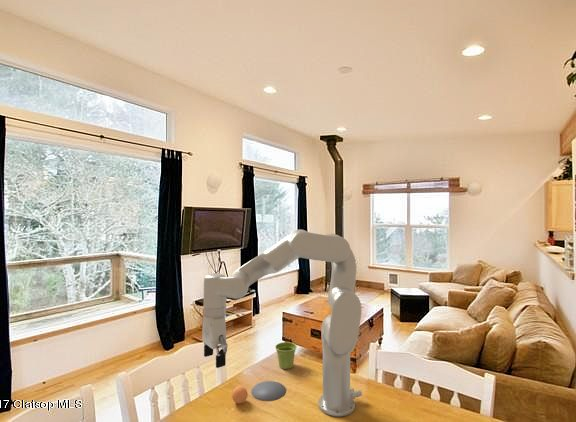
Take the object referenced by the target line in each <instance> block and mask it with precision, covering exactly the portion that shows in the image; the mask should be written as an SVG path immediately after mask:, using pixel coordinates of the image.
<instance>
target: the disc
mask: <svg viewBox="0 0 576 422" xmlns="http://www.w3.org/2000/svg"><path fill="white" fill-rule="evenodd" d="M286 391H287V389H286V386H285V385H284V384H282V383H280V382H278V381H272V380H269V381H261V382H259V383H257V384H255V385H254V386H253V387H252V388H251V395H252V397H254V399H257V400H259V401H264V402H266V401H267V402H271V401H276V400H278V399H281V398H282V397H284V396H285V394H286V393H287V392H286Z"/></svg>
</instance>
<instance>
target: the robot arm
mask: <svg viewBox="0 0 576 422" xmlns="http://www.w3.org/2000/svg"><path fill="white" fill-rule="evenodd" d="M300 258H302V259H307V260H313V261H320V262H321V261H322V262H327V263H328V262H329V263H330V265H331V276H330V283H329V289H328V295H327V304H328V306H329V309H331V313H330V314H329V315H327V316H326V317H325V318H324V319H323V321H322V323H321V329H320V331H321V333H320V335H321V347H322V395H320V397H319V398H318V409H320V410H321V411H322V412H323V413H325V414H326V415H329V416H331V417H347V416H349V415H350V414H352V413H353V412H354V411H355V409H356V405H355V404H356V403H355V401H354V400H355V399H356V398H359V397H362V396H363V393H362V390H360V389H357V390H355V389H354V388H352V387H351V353H352V352H353V350H354V349H356V348H355V347H356V346H357V342H358V338H359V331H360V325H361V318H362V302H361V300H360V298H359V297H358V295H357V294H356V291H355V289H356V281H357V280H356V279H357V261H356V258H355V254H354V252H353V250H352V249H351V246H350V243H349V242H348V240H346V238H344V237H342V236H340V235H339V234H335V233H328V234H321V233H313V232H309V231H307V230H304V229H296V230H294V231H292V232H290V233H289V234H288V235H286V236H285V237H283V238H282V239H281V240H278V242H276V243H275V244H273V245H271V247H269V248H267V249H266V250H265V251H262V253H260V254H259V255H257V256H255V257H254V258H252V259H251V260H249V261H247V262H246V263H244V264H243V265H242V266H240V267H239V268H237V269H236V270H234V271H233V272H232V273H231V274H230V275H229V276H226V275H225V274H223V273H209V274H207V275H205V276H204V277H203V318H202V329H201V330H202V331H201V340H202V342H203V357H209V356H213V355H214V350H215V351H216V355H215V368H216V369H219V368H222V367H225V366H226V363H227V362H226V361H227V360H226V357H227V356H226V355H227V352H228V346H229V345H228V342H227V325H226V323H227V321H226V316H227V298H229V299H236V300H237V299H242V298H243V297H245V296H246V295H247V293H248V291H249V287H250V286H252V284H254V283H256V282H257V281H259V280H260V279H262V278H263V277H265V276H268V275H272V274H276V273H279V272H280V271H282V270H283V269H285V268H286V267H288V266H289V265H290V264H292V263H293V262H295V261H297V260H298V259H300Z"/></svg>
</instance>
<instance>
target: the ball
mask: <svg viewBox="0 0 576 422" xmlns="http://www.w3.org/2000/svg"><path fill="white" fill-rule="evenodd" d="M232 390H233V391H232V393H231V398H232V400H233V402H234V403H236V404H243V403H244V402H246V400H247V398H248V394H249V393H248V391H247V390H248V389H247V388H245V386H243V385H239V386H236V387H235V388H233V389H232Z"/></svg>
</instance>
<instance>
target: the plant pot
mask: <svg viewBox="0 0 576 422" xmlns="http://www.w3.org/2000/svg"><path fill="white" fill-rule="evenodd" d="M274 348H275V351H276V353H277V361H278V366H279V368H280V369H284V370H287V369H289V370H290V369H292V368H293V367H294V360H295V353H296V349H297V344H296V343H294V342H289V341H288V342H286V341H283V342H280V343H277V344H275V346H274Z"/></svg>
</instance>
